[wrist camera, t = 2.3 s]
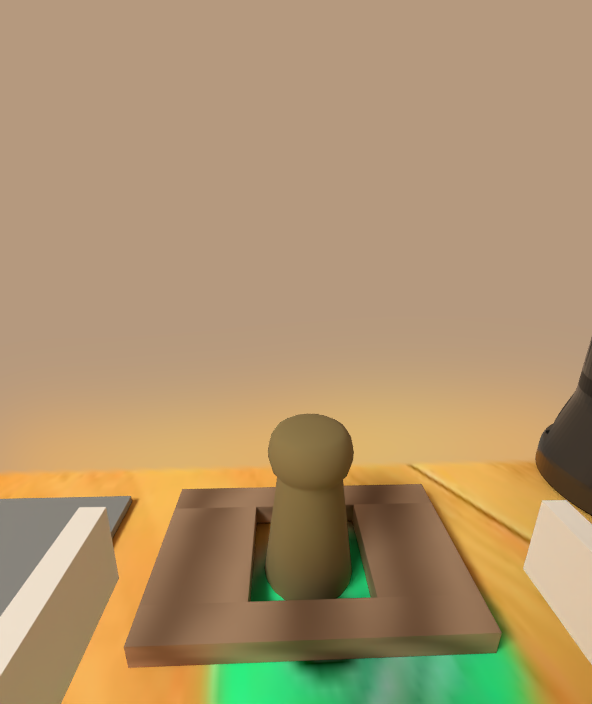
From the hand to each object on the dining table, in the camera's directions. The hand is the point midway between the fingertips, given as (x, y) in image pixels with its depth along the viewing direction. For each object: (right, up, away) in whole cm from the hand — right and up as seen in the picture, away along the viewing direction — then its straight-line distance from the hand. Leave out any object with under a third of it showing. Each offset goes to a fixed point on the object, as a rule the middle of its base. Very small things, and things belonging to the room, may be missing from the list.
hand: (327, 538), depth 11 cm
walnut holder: (0, -9, +14) cm, 17 cm away
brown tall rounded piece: (0, -9, +14) cm, 17 cm away
